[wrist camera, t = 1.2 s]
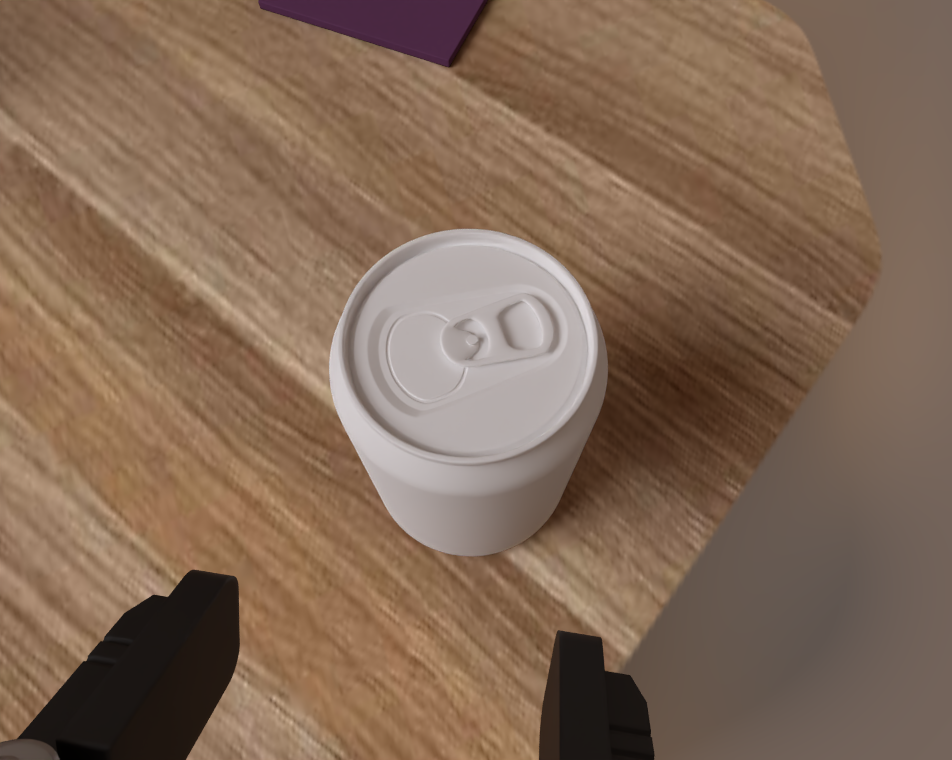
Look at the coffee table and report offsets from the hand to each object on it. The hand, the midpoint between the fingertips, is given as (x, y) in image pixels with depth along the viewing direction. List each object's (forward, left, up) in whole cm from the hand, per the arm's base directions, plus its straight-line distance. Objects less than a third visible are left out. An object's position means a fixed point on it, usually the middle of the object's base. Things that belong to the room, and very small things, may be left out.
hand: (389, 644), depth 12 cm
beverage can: (+2, -8, -16) cm, 18 cm away
